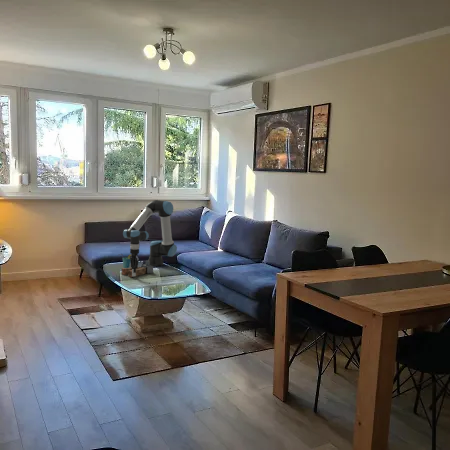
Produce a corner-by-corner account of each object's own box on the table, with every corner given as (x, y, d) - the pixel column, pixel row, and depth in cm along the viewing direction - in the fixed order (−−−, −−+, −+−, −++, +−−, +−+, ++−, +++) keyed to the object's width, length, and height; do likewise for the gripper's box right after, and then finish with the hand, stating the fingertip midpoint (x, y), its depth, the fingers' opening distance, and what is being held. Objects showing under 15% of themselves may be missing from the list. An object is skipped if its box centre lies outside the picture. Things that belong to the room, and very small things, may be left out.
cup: (118, 271, 392) (118, 254, 390) (116, 269, 399) (117, 252, 397) (134, 270, 398) (134, 254, 396) (131, 268, 405) (132, 252, 403)
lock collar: (147, 270, 399) (147, 259, 398) (153, 272, 391) (153, 262, 390) (141, 270, 396) (141, 260, 394) (147, 273, 388) (147, 262, 386)
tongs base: (146, 271, 397) (146, 265, 396) (149, 272, 393) (149, 267, 392) (121, 274, 382) (121, 268, 382) (124, 275, 378) (124, 269, 377)
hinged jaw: (143, 273, 390) (143, 267, 389) (145, 273, 388) (145, 267, 387) (128, 276, 375) (128, 270, 374) (130, 277, 373) (131, 271, 372)
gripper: (127, 247, 372) (126, 274, 375) (134, 250, 363) (133, 278, 365) (135, 247, 377) (134, 274, 380) (142, 249, 367) (141, 277, 370)
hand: (133, 276), depth 373 cm, fingers closed
